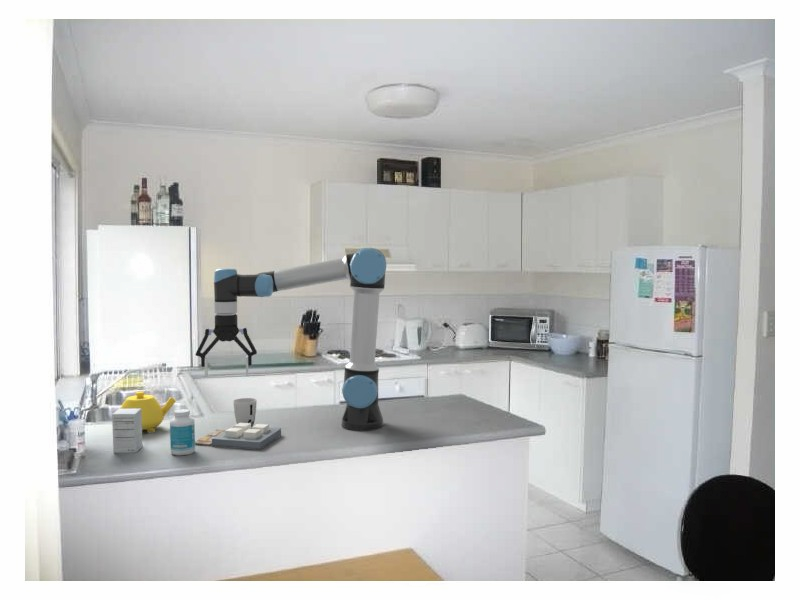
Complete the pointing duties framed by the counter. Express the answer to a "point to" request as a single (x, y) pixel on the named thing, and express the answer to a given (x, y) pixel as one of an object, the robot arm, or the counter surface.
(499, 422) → the counter surface
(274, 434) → the button board
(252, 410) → the cup
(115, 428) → the supplement box
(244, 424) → the button
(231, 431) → the button
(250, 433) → the button
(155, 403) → the teapot
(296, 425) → the counter surface
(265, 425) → the button
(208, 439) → the card
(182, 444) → the pill bottle
